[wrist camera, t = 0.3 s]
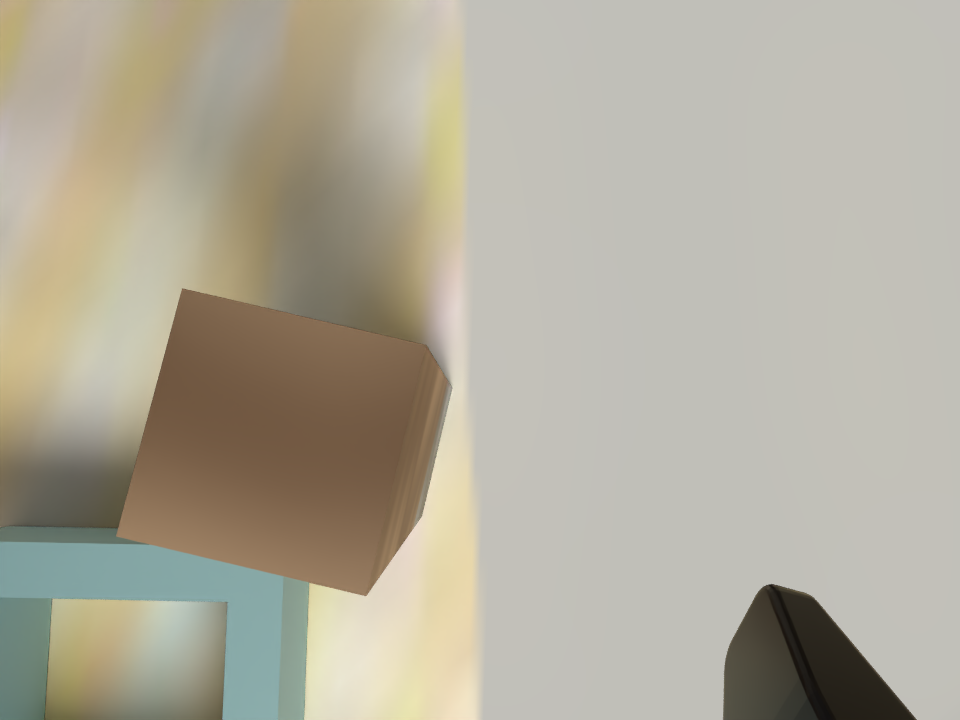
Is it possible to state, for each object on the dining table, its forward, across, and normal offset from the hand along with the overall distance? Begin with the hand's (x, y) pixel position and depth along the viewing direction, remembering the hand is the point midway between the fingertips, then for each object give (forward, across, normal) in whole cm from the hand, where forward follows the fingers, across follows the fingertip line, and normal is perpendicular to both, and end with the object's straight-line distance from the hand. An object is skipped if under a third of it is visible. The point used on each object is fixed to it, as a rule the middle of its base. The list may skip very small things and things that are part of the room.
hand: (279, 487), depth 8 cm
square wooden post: (+12, +1, +8) cm, 15 cm away
